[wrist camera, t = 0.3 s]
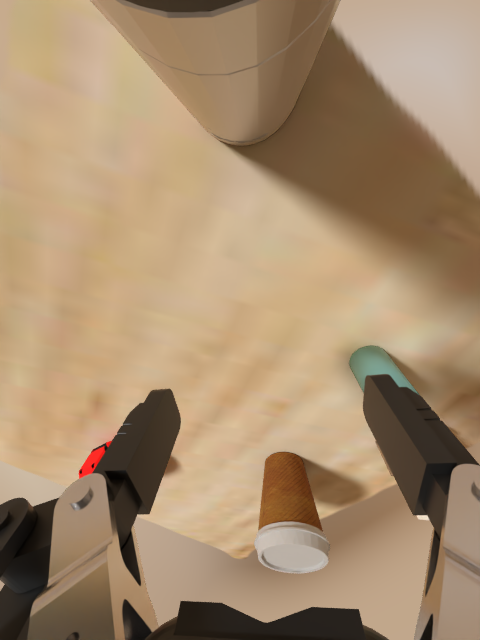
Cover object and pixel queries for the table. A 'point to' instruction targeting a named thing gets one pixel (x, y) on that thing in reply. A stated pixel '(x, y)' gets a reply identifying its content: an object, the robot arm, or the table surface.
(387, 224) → the table surface
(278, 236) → the table surface
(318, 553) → the disposable coffee cup
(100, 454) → the red faceted polyhedron
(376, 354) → the teal capsule
